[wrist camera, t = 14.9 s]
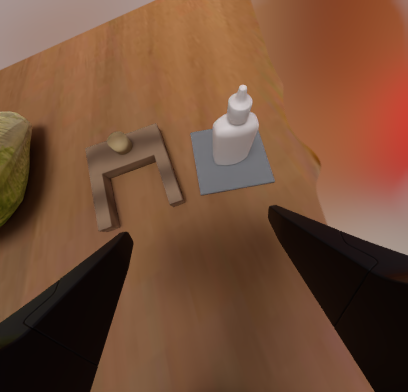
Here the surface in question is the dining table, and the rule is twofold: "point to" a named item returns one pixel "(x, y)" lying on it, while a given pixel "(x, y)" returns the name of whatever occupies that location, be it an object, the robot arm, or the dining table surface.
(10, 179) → the lettuce
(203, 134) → the slate mat
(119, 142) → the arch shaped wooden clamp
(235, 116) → the eye dropper bottle
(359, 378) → the dining table surface
